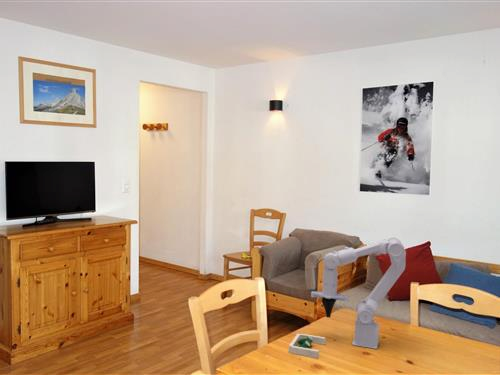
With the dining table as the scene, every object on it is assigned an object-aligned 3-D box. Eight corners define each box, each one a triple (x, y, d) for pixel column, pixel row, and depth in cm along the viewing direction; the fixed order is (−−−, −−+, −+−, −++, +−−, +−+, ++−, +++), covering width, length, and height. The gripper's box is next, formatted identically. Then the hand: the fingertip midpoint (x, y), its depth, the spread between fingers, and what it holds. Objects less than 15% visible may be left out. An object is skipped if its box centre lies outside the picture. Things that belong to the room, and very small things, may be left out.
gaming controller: (299, 358, 169) (311, 349, 167) (292, 349, 169) (304, 340, 168) (304, 348, 177) (315, 339, 176) (297, 340, 178) (308, 332, 176)
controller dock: (325, 343, 178) (325, 337, 178) (318, 358, 164) (318, 351, 164) (297, 339, 182) (297, 333, 182) (288, 352, 168) (288, 346, 168)
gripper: (309, 283, 180) (308, 317, 181) (346, 288, 175) (345, 322, 176) (313, 279, 186) (312, 311, 187) (349, 283, 181) (347, 316, 182)
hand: (328, 316), depth 182 cm, fingers closed
